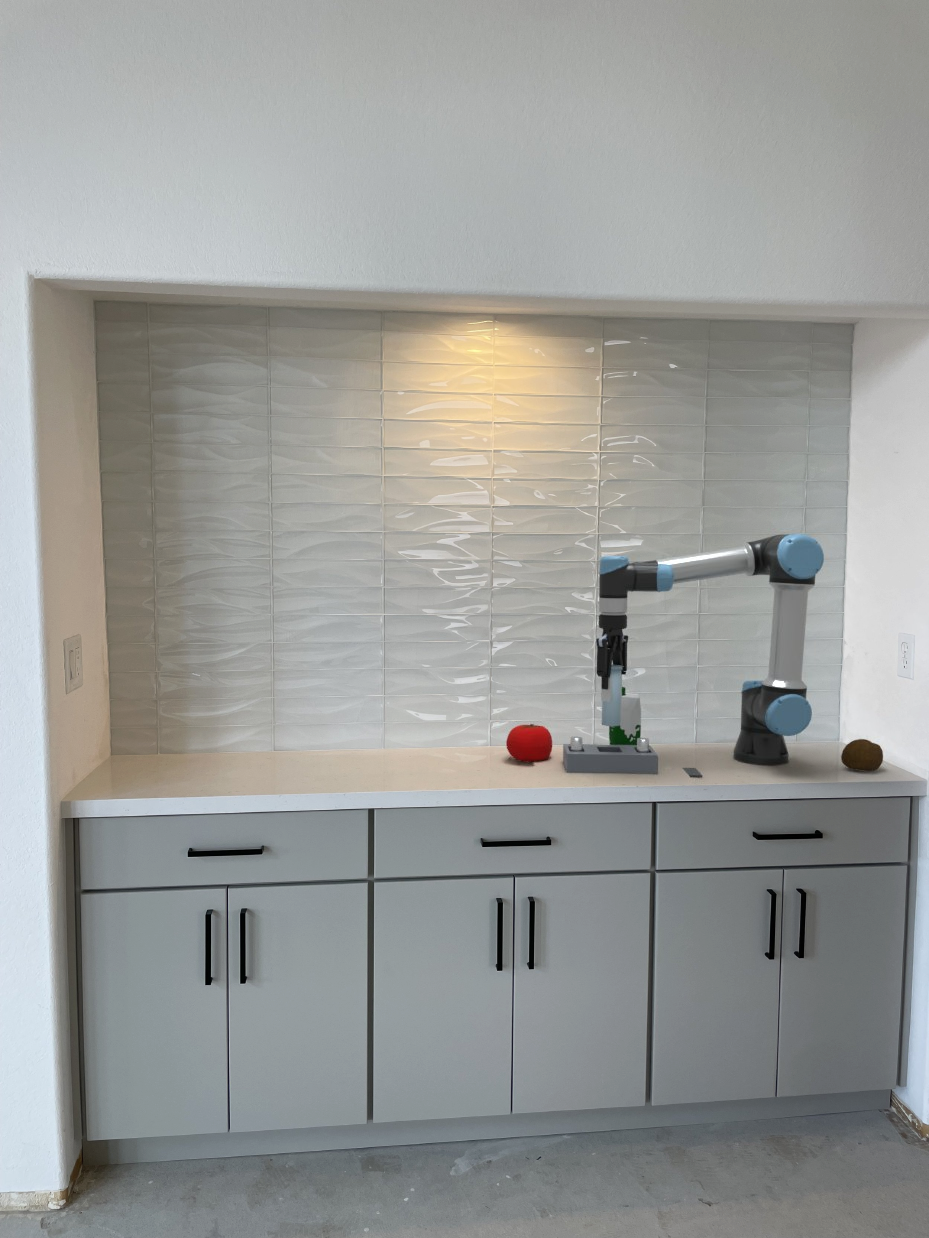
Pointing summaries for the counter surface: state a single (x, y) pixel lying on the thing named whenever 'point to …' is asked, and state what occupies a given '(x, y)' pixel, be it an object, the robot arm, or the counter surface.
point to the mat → (693, 772)
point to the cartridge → (613, 699)
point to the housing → (610, 759)
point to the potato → (862, 755)
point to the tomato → (529, 743)
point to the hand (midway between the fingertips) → (611, 699)
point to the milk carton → (627, 721)
